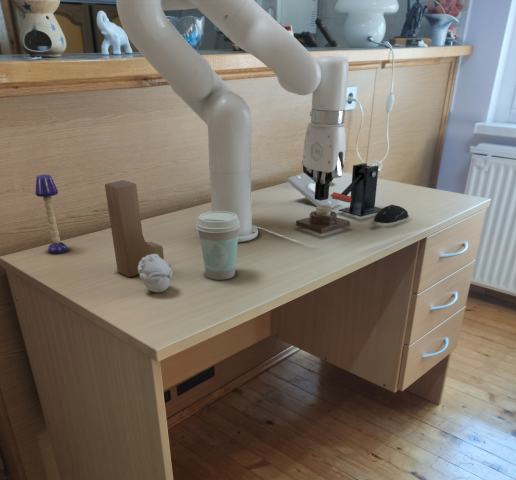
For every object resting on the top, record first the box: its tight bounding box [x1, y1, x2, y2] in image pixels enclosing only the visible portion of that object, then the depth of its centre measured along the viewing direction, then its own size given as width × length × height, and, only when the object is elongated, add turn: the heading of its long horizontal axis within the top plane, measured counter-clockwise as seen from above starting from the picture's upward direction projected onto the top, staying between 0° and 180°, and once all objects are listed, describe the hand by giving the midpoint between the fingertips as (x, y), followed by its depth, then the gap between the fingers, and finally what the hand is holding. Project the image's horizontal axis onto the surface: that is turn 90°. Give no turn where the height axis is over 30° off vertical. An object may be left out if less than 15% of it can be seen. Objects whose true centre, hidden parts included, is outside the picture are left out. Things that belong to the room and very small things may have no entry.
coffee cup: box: [195, 211, 240, 281], centre depth 105 cm, size 8×9×12 cm
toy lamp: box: [34, 174, 69, 255], centre depth 118 cm, size 5×5×17 cm
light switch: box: [286, 172, 341, 207], centre depth 153 cm, size 8×6×14 cm
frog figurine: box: [138, 254, 174, 293], centre depth 100 cm, size 6×7×7 cm
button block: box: [295, 210, 351, 235], centre depth 133 cm, size 10×9×4 cm
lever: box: [330, 164, 371, 204], centre depth 139 cm, size 12×6×2 cm, turn 130°
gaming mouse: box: [373, 204, 409, 224], centre depth 138 cm, size 6×15×4 cm, turn 138°
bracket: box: [338, 162, 383, 218], centre depth 142 cm, size 10×8×13 cm
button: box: [315, 205, 332, 216], centre depth 131 cm, size 4×4×2 cm
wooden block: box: [104, 179, 165, 278], centre depth 107 cm, size 9×4×18 cm, turn 135°
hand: (321, 199), depth 130 cm, fingers closed
